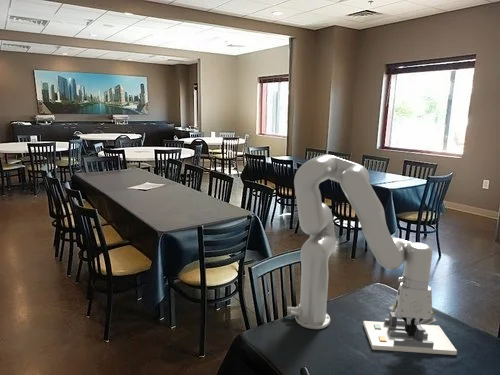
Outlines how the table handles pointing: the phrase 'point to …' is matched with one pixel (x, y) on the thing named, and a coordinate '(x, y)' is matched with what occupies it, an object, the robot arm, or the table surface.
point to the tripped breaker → (419, 333)
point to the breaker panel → (407, 338)
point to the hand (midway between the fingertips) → (409, 333)
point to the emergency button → (423, 322)
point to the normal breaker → (392, 319)
